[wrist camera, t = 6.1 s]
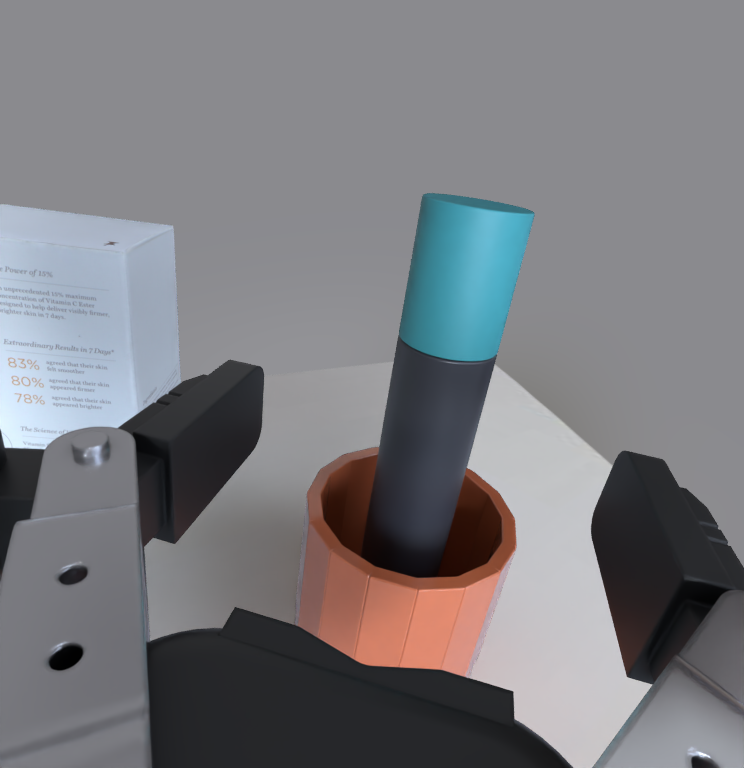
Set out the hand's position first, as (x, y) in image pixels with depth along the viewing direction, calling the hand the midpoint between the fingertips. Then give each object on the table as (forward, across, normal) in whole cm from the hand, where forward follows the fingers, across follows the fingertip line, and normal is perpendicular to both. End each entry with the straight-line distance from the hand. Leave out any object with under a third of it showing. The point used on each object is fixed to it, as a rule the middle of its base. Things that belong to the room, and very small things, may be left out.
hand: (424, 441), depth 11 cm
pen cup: (+5, 0, +12) cm, 13 cm away
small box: (+9, +17, +12) cm, 23 cm away
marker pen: (+5, 0, +11) cm, 12 cm away
